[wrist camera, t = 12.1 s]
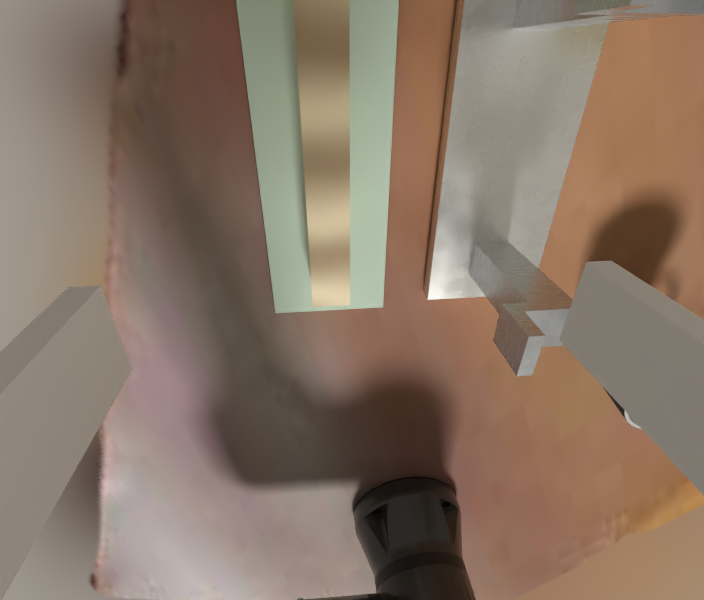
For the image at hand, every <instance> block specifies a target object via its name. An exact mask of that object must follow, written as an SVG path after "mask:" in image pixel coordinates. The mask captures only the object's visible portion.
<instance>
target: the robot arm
mask: <svg viewBox="0 0 704 600" xmlns="http://www.w3.org/2000/svg"><path fill="white" fill-rule="evenodd" d="M559 340H560V341H561V342H562V343H563V344H564V345H565V346H566V347H567V348H568V350H569V351H570V352H571V353H572V354H573V355H574V356H575V357H576V358H577V359H578V360H579V361H580V362H581V364H582V365H583V366H584V367H585V368H586V369H587V370H588V371H589V372H590V373H591V374H592V375H593V376H594V378H595V379H596V380H597V381H598V382H599V383H600V384H601V385H602V386H603V387H604V388H605V389H606V391H607V392H608V393H609V394H610V395H611V396H612V397H613V398H614V399H615V400H616V401H617V402H618V403H619V405H620V406H621V407H622V408H623V409H624V410H625V411H626V412H627V413H628V414H629V415H630V416H631V417H632V419H633V420H634V421H635V422H636V423H637V424H638V425H639V426H640V427H641V428H642V429H643V430H644V431H645V433H646V434H647V435H648V436H649V437H650V438H651V439H652V440H653V441H654V442H655V443H656V444H657V446H658V447H659V448H660V449H661V450H662V451H663V452H664V453H665V454H666V455H667V456H668V457H669V458H670V460H671V461H672V462H673V463H674V464H675V465H676V466H677V467H678V468H679V469H680V470H681V471H682V472H683V474H684V475H685V476H686V477H687V478H688V479H689V480H690V481H691V482H692V483H693V484H694V485H695V486H696V488H697V489H698V490H699V491H700V492H701V493H702V494H703V495H704V319H702V318H700V317H699V316H697V315H696V314H694V313H693V312H691V311H689V310H688V309H686V308H685V307H683V306H682V305H680V304H678V303H677V302H675V301H674V300H672V299H671V298H669V297H668V296H666V295H664V294H663V293H661V292H660V291H658V290H657V289H655V288H653V287H652V286H650V285H649V284H647V283H646V282H644V281H642V280H641V279H639V278H638V277H636V276H635V275H633V274H632V273H630V272H628V271H627V270H625V269H624V268H622V267H621V266H619V265H617V264H616V263H614V262H613V261H593V262H586V264H585V267H584V269H583V272H582V275H581V278H580V281H579V284H578V287H577V290H576V292H575V295H574V298H573V301H572V304H571V307H570V310H569V313H568V316H567V318H566V321H565V324H564V327H563V330H562V333H561V336H560V339H559ZM131 370H132V366H131V363H130V361H129V358H128V356H127V353H126V351H125V348H124V345H123V343H122V340H121V338H120V335H119V333H118V330H117V327H116V325H115V322H114V320H113V317H112V315H111V312H110V309H109V307H108V304H107V302H106V299H105V297H104V294H103V291H102V289H101V286H86V287H68V288H67V289H66V290H65V291H64V292H63V293H62V294H61V295H60V296H59V297H58V298H57V299H56V300H54V302H52V303H51V304H50V305H49V306H48V307H47V308H46V309H45V310H44V311H43V312H42V313H41V314H40V315H39V316H38V317H36V319H34V320H33V321H32V322H31V323H30V324H29V325H28V326H27V327H26V328H25V329H24V330H23V331H22V332H21V333H20V334H19V335H17V336H16V337H15V338H14V339H13V340H12V341H11V342H10V343H9V344H8V345H7V346H6V347H5V348H4V349H3V350H2V351H1V352H0V600H2V598H3V596H4V595H5V593H6V591H7V590H8V588H9V586H10V584H11V583H12V581H13V579H14V577H15V575H16V574H17V572H18V570H19V568H20V567H21V565H22V563H23V561H24V560H25V558H26V556H27V554H28V552H29V551H30V549H31V547H32V545H33V543H34V542H35V540H36V538H37V537H38V535H39V533H40V531H41V529H42V528H43V526H44V524H45V522H46V521H47V519H48V517H49V515H50V514H51V512H52V510H53V508H54V506H55V505H56V503H57V501H58V499H59V498H60V496H61V494H62V492H63V491H64V489H65V487H66V485H67V483H68V482H69V480H70V478H71V476H72V475H73V473H74V471H75V469H76V467H77V466H78V463H79V462H80V460H81V459H82V457H83V455H84V453H85V452H86V450H87V448H88V446H89V444H90V443H91V441H92V439H93V437H94V436H95V434H96V432H97V430H98V429H99V427H100V425H101V423H102V421H103V420H104V418H105V416H106V414H107V413H108V411H109V409H110V407H111V406H112V404H113V402H114V400H115V398H116V397H117V395H118V393H119V391H120V390H121V388H122V386H123V384H124V383H125V381H126V379H127V377H128V375H129V374H130V372H131ZM354 520H355V529H356V534H357V537H358V539H359V541H360V544H361V546H362V548H363V551H364V553H365V555H366V557H367V560H368V562H369V564H370V567H371V569H372V571H373V574H374V578H375V584H376V592H377V593H375V594H363V595H352V596H342V597H331V598H317V599H303V598H299V599H297V600H476V598H475V595H474V592H473V589H472V586H471V583H470V580H469V577H468V574H467V571H466V568H465V565H464V561H463V558H462V537H461V512H460V507H459V504H458V501H457V498H456V496H455V493H454V491H453V490H452V489H451V488H450V487H449V486H448V485H446V484H444V483H442V482H440V481H437V480H433V479H427V478H408V479H401V480H397V481H393V482H390V483H387V484H384V485H382V486H379V487H377V488H376V489H374V490H372V491H371V492H369V493H368V494H366V495H365V496H364V497H363V498H362V499H361V500H360V501H359V503H358V504H357V506H356V508H355V511H354Z"/></svg>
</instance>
